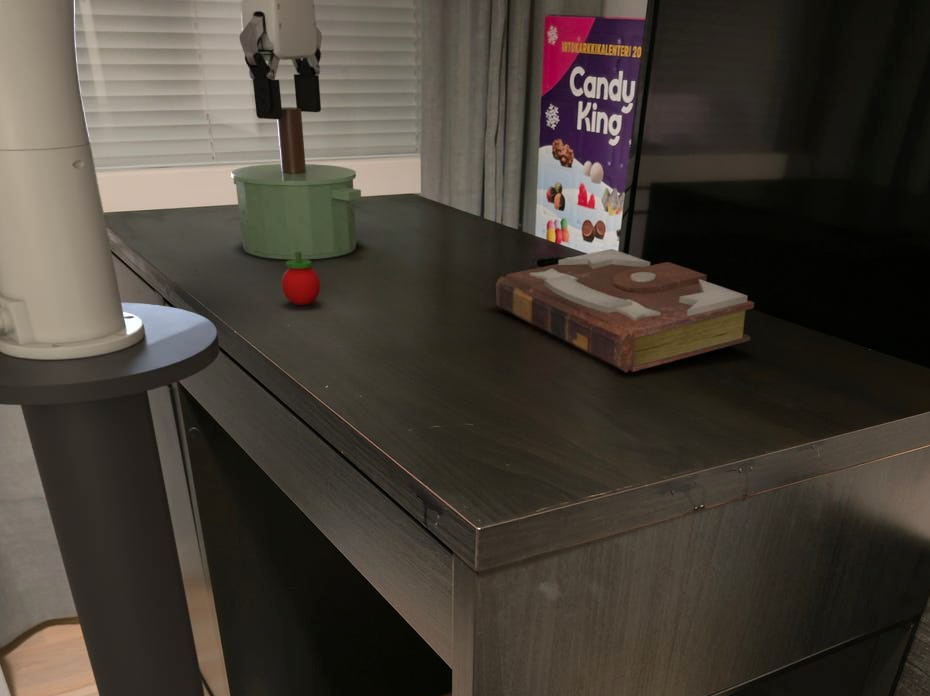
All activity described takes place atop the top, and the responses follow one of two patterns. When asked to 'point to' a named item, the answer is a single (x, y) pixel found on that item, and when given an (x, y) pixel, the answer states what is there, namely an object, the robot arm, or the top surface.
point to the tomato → (300, 281)
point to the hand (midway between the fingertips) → (290, 114)
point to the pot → (297, 219)
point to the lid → (292, 160)
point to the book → (626, 308)
